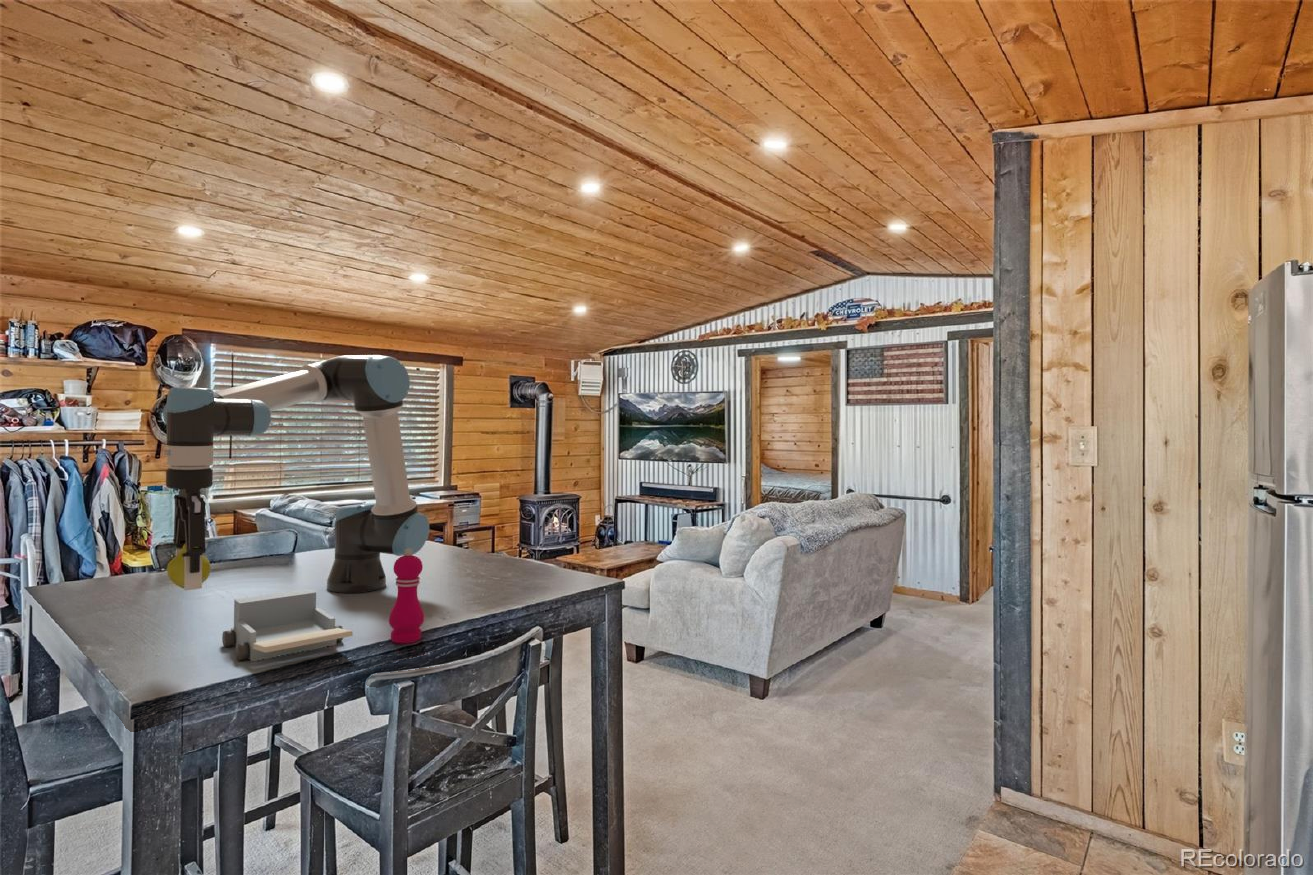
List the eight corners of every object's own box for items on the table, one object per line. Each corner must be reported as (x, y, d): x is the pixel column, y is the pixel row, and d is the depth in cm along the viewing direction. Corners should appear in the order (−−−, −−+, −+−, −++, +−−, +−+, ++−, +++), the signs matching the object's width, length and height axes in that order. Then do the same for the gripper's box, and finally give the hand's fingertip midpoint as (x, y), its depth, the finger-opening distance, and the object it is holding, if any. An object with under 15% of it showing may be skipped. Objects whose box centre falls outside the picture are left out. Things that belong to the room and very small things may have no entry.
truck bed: (220, 643, 146) (221, 601, 145) (319, 626, 159) (320, 587, 159) (241, 664, 135) (242, 617, 135) (345, 643, 149) (346, 601, 148)
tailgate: (252, 643, 136) (265, 647, 130) (337, 627, 147) (352, 630, 141) (252, 649, 136) (265, 653, 130) (337, 633, 147) (352, 636, 141)
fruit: (177, 594, 131) (177, 530, 131) (160, 588, 135) (160, 526, 134) (216, 587, 137) (217, 526, 136) (198, 581, 141) (199, 522, 140)
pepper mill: (394, 633, 156) (396, 544, 156) (427, 634, 157) (429, 545, 156) (384, 644, 149) (386, 551, 148) (418, 644, 150) (421, 552, 149)
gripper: (156, 463, 139) (155, 577, 140) (177, 472, 125) (176, 599, 126) (200, 462, 145) (199, 572, 146) (225, 471, 131) (224, 592, 131)
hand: (188, 584), depth 136 cm, fingers closed on fruit, 7 cm apart
